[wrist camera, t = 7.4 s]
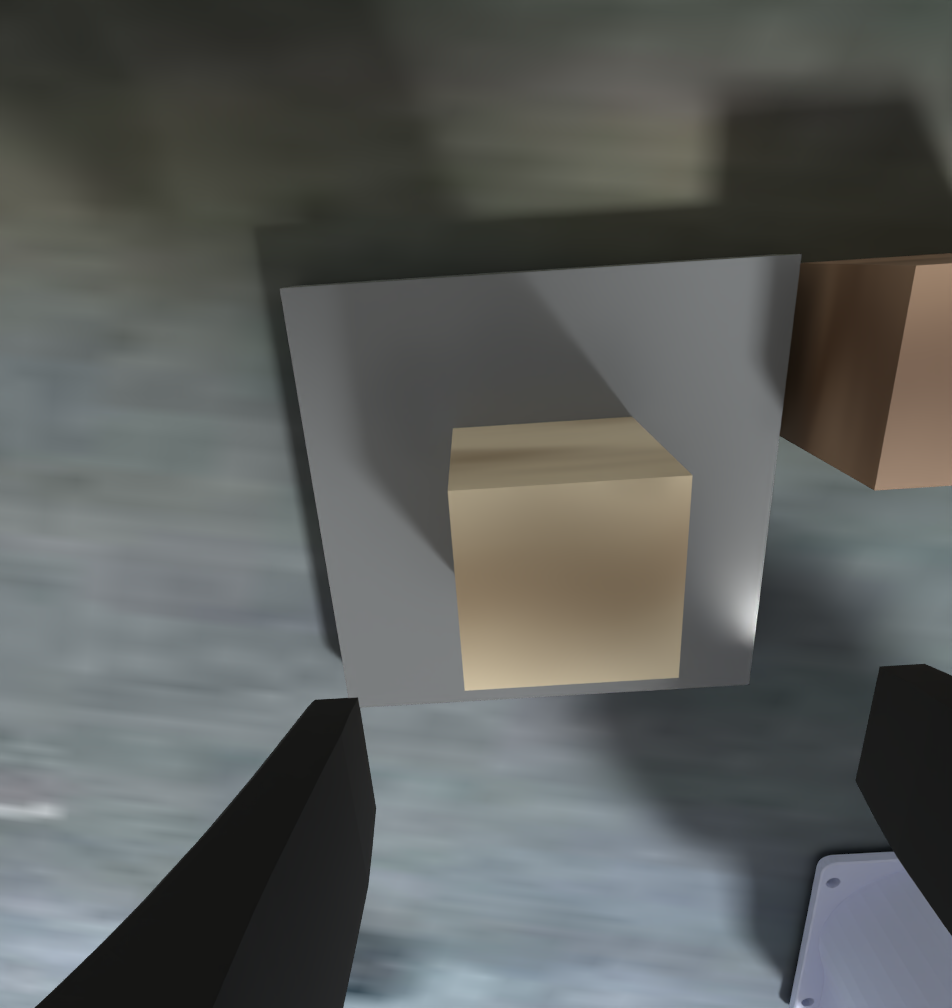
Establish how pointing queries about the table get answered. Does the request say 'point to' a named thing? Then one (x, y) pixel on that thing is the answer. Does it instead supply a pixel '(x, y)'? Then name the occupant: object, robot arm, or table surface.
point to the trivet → (535, 399)
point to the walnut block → (874, 369)
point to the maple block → (567, 553)
